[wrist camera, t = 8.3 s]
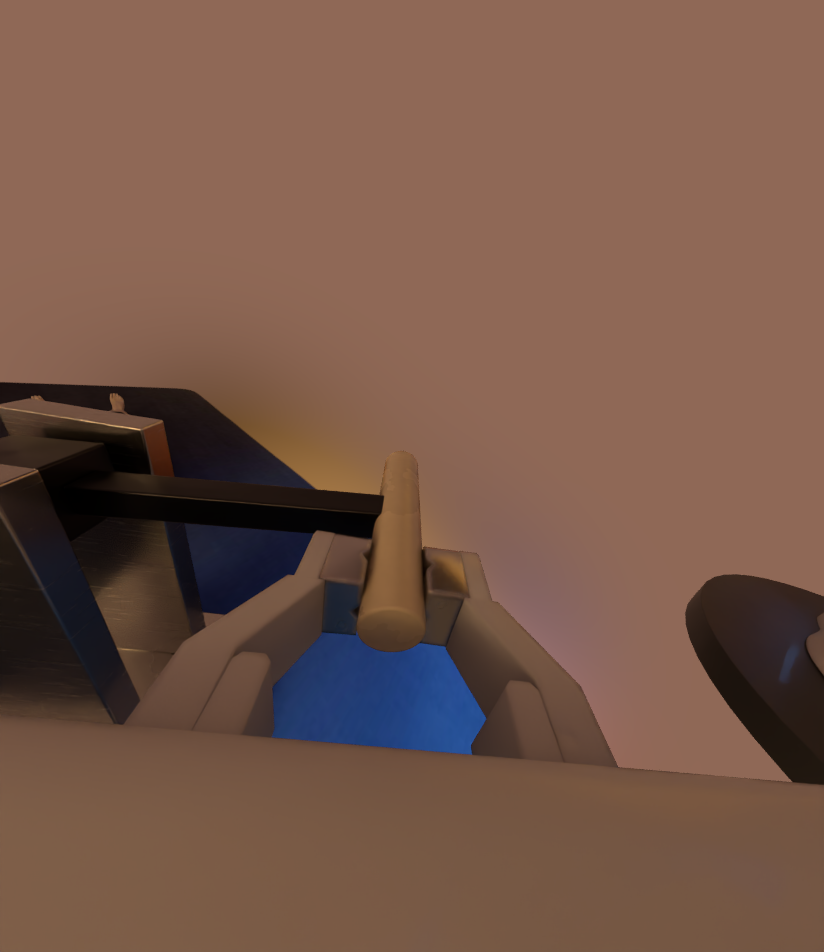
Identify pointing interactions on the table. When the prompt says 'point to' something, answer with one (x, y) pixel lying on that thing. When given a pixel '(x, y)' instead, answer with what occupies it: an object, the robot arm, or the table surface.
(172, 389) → the table surface
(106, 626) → the bracket
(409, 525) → the lever
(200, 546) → the table surface
